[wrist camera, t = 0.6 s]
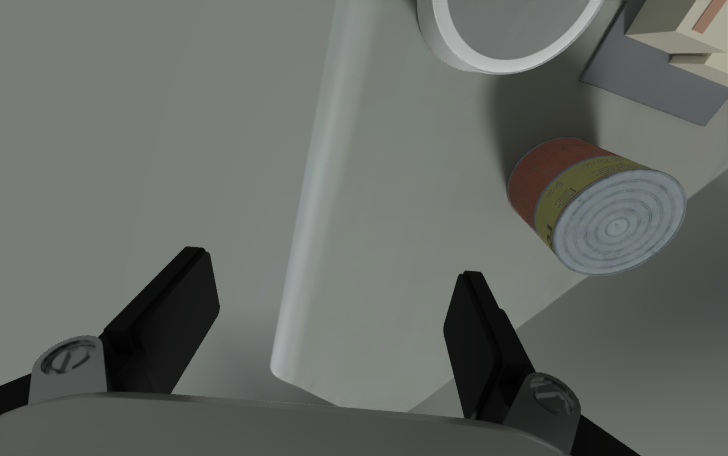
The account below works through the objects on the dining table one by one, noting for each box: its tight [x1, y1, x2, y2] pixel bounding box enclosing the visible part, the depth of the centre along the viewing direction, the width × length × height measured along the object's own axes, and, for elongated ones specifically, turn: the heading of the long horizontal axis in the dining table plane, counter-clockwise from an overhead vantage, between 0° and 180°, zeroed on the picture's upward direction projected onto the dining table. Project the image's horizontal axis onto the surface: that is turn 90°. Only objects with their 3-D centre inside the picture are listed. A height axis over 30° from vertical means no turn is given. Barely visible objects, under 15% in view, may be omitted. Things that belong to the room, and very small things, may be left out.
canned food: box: [507, 137, 687, 276], centre depth 34 cm, size 11×11×12 cm
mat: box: [580, 0, 728, 126], centre depth 31 cm, size 14×16×1 cm
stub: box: [625, 0, 728, 53], centre depth 28 cm, size 6×5×6 cm
